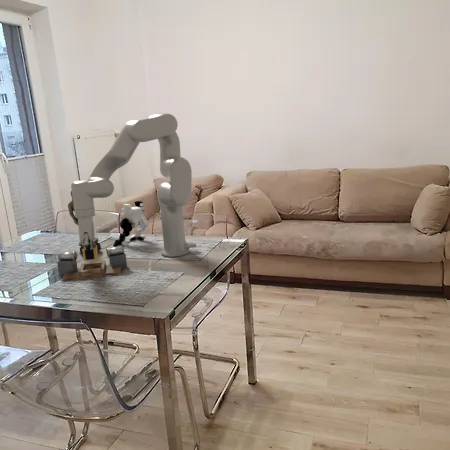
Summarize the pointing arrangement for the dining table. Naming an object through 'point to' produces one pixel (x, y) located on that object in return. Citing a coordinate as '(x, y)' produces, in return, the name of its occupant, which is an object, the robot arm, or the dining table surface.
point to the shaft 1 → (67, 263)
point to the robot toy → (132, 223)
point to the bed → (92, 271)
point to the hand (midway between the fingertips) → (90, 256)
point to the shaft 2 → (117, 257)
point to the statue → (71, 208)
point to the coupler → (93, 251)
